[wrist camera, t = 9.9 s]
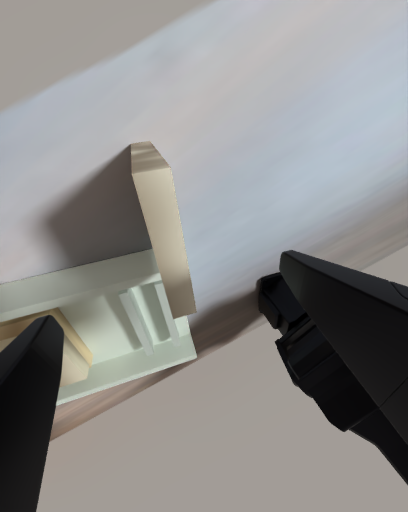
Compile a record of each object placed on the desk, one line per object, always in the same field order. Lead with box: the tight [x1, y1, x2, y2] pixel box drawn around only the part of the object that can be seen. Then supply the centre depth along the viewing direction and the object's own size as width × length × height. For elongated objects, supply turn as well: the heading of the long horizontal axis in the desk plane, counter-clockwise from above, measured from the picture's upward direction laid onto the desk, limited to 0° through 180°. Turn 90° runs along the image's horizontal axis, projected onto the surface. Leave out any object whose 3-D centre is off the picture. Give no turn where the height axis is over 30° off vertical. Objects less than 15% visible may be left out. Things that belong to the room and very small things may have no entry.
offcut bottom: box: [0, 307, 93, 368], centre depth 21 cm, size 6×9×2 cm, turn 6°
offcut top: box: [0, 334, 89, 388], centre depth 20 cm, size 5×7×2 cm
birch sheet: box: [131, 141, 197, 319], centre depth 14 cm, size 1×8×10 cm, turn 6°
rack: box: [0, 249, 197, 406], centre depth 22 cm, size 18×14×4 cm
